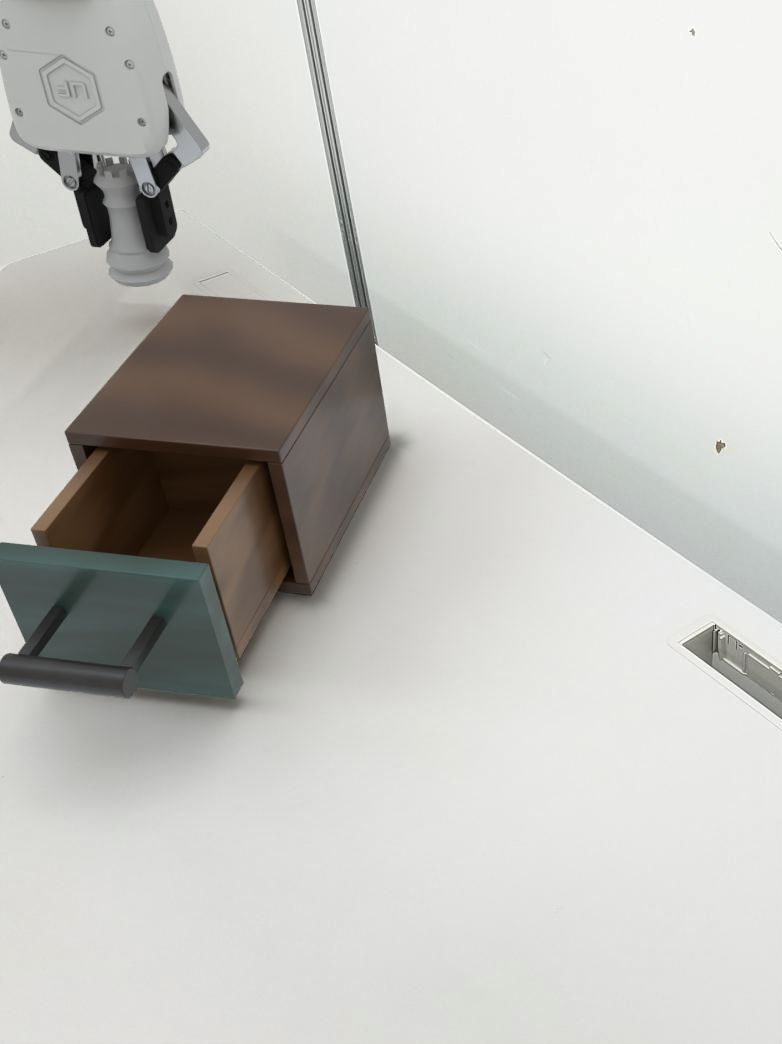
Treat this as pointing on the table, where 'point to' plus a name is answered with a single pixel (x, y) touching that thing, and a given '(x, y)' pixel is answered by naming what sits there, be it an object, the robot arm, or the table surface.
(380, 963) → the table surface
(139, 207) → the robot arm
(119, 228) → the rook chess piece
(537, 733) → the table surface
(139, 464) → the drawer
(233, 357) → the cabinet
